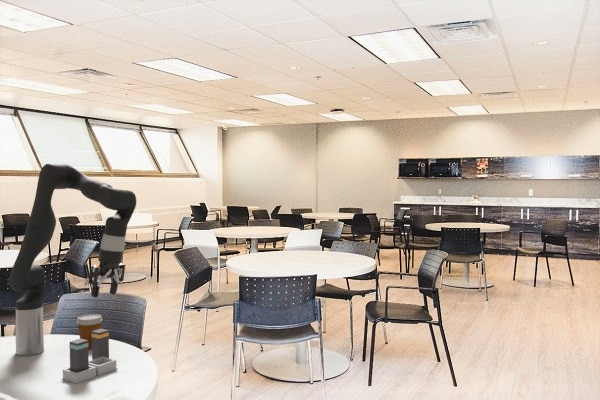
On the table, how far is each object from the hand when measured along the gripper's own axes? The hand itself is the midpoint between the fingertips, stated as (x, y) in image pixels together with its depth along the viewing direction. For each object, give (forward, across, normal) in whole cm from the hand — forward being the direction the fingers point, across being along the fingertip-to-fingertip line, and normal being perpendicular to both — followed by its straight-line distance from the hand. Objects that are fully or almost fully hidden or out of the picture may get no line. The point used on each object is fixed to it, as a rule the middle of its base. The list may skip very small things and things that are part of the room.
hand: (103, 295), depth 179 cm
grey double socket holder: (+27, +2, +2) cm, 27 cm away
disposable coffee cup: (+29, -23, -21) cm, 42 cm away
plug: (+27, -9, -3) cm, 29 cm away
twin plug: (+26, +6, +2) cm, 27 cm away
